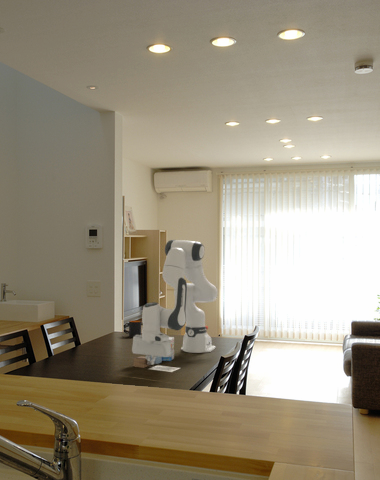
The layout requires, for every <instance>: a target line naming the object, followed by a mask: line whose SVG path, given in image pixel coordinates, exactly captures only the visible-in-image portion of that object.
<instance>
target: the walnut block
mask: <svg viewBox="0 0 380 480" xmlns="http://www.w3.org/2000/svg"><path fill="white" fill-rule="evenodd" d="M149 358H150V357H149ZM149 366H151V365H149V364H147V359H146V357H145V356H142V355H141V356H140V355H139V356H137V357H134V358H133V367H135V368H147V367H149Z"/></svg>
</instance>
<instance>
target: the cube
mask: <svg viewBox="0 0 380 480" xmlns="http://www.w3.org/2000/svg"><path fill="white" fill-rule="evenodd" d="M150 360H152V356H151V355H150ZM161 363H162V357H159V356H156V359H155V361H154V365H159V364H161Z"/></svg>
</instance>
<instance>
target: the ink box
mask: <svg viewBox="0 0 380 480" xmlns="http://www.w3.org/2000/svg"><path fill="white" fill-rule="evenodd" d="M167 341H169V343H170V355H169V356H168V357H162V361H163V362H171V361H172V360H174V359H175V337H174V336H169V340H167Z"/></svg>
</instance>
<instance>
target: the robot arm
mask: <svg viewBox="0 0 380 480" xmlns="http://www.w3.org/2000/svg"><path fill="white" fill-rule="evenodd" d="M164 254H165V256H166V258H165V261H164V264H163V267H162V271H161V272H162V274H161V275H162V279H163V281H164V282H165V283H166V284H167V285H168V286H170V287H171V288H173V289H174V290H173V296H174V307H173V308H165V307H163V306H161V305H160V304H159V302H155V301H154V302H148V303H146V304H144V305H143V307H142V313H141V324H142V327H141V335H135V336H136V337H135V336H134V337H132V347H131V352H132V353H133V354H134V355H141V356H143V355H144V357H146V359H147V364H149V365H150V366H151V365H152V366H154V365H155V364H154V361H155V359H156V356H159V357H168V356H169V355H170V343H169V341H167V340H169V337H170V336H169V335H168V334H165V333H163V332H162V331H161V328H163V329H170V330H173V331H180V330H181V329H182V328H185V331H184V332H185V333H184V335H183V338H182V346H181V348H180V350H182V352H186V353H195V354H197V353H198V354H199V353H201V354H202V353H210V352H212V351H214V350H215V349H216V348H217V347H216V346H215V345H213V344H212V343H213V342H212V341H213V340H212V337H211V336H210V335H209V334H208V332H207V330H208V329H209V326H208V325H206V314H205V311H204V310H203V309H201V308H199V307H197V305H196V303H204V304H205V303H211V302H215V301H216V300H217V298H218V296H219V295H218V294H219V291H218V288H217V287H216V285H214V284H213V283H211V282H210V281H209V280H208V279H207V277H206V275H205V272H204V265H203V258H204V256H205V246H204V244H203V243H201V242H200V241H197V240H196V241H194V240H193V241H192V240H187V239H184V240H183V239H179V240H178V239H170V240H168V241H167V242H166V244H165V246H164ZM187 281H189V282H191V283H189V282H187ZM150 355H151V356H152V360H150V358H149V357H150Z"/></svg>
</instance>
